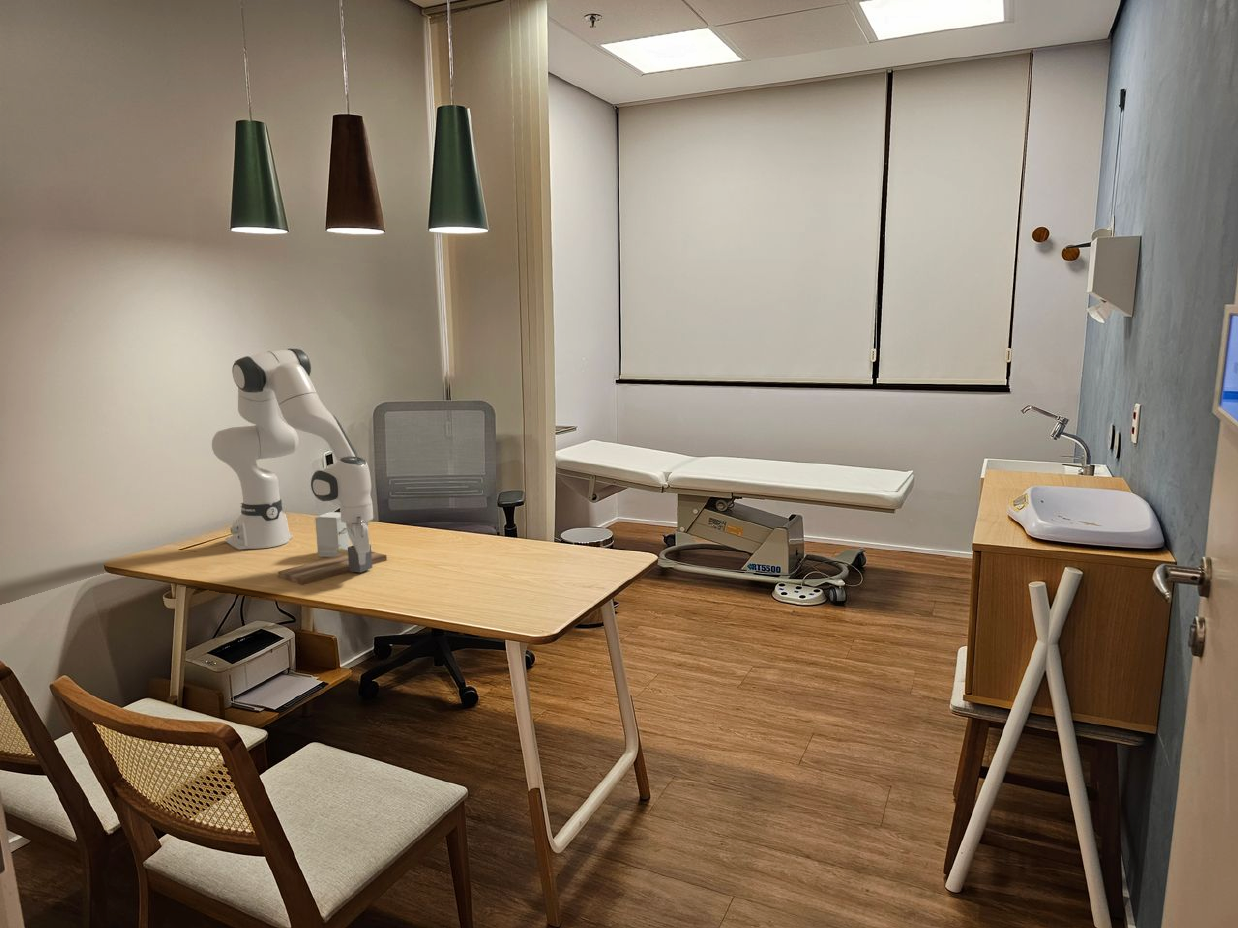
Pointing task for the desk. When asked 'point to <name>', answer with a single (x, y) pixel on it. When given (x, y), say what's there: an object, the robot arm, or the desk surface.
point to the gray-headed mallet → (356, 559)
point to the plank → (323, 568)
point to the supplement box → (331, 534)
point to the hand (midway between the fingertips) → (360, 560)
